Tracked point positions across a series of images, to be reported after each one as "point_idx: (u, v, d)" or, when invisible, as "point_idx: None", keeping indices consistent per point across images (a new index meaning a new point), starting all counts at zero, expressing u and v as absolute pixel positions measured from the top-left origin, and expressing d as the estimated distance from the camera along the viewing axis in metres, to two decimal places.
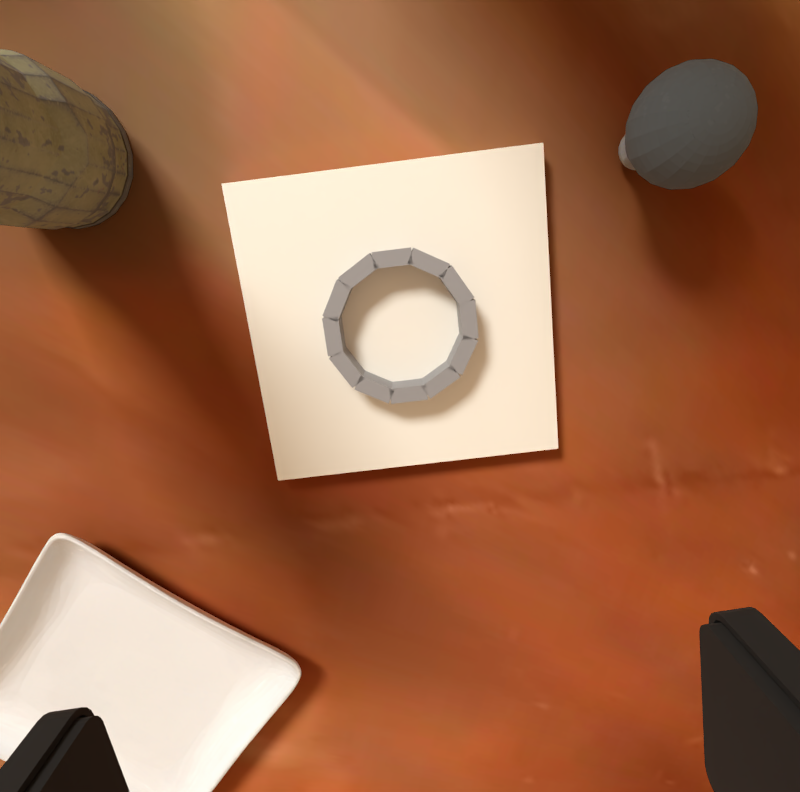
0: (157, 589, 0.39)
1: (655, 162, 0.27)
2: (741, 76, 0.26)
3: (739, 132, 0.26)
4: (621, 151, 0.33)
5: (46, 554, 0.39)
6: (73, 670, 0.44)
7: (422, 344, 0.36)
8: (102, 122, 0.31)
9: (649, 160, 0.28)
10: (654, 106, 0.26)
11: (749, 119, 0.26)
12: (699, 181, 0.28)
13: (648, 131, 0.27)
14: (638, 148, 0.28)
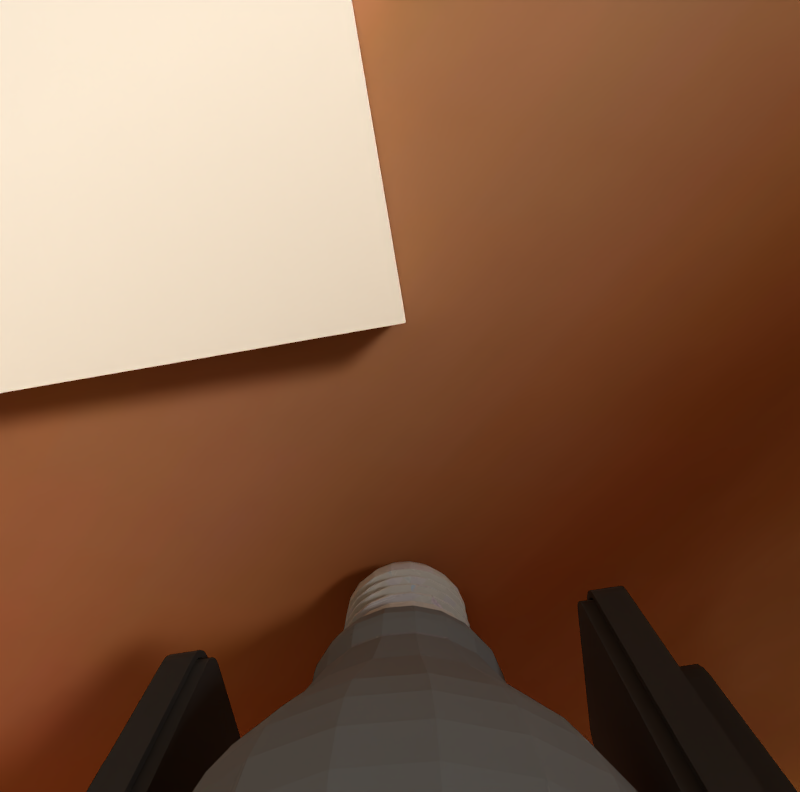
0: None
1: None
2: None
3: None
4: (393, 577, 0.10)
5: None
6: None
7: None
8: None
9: None
10: None
11: None
12: None
13: None
14: None
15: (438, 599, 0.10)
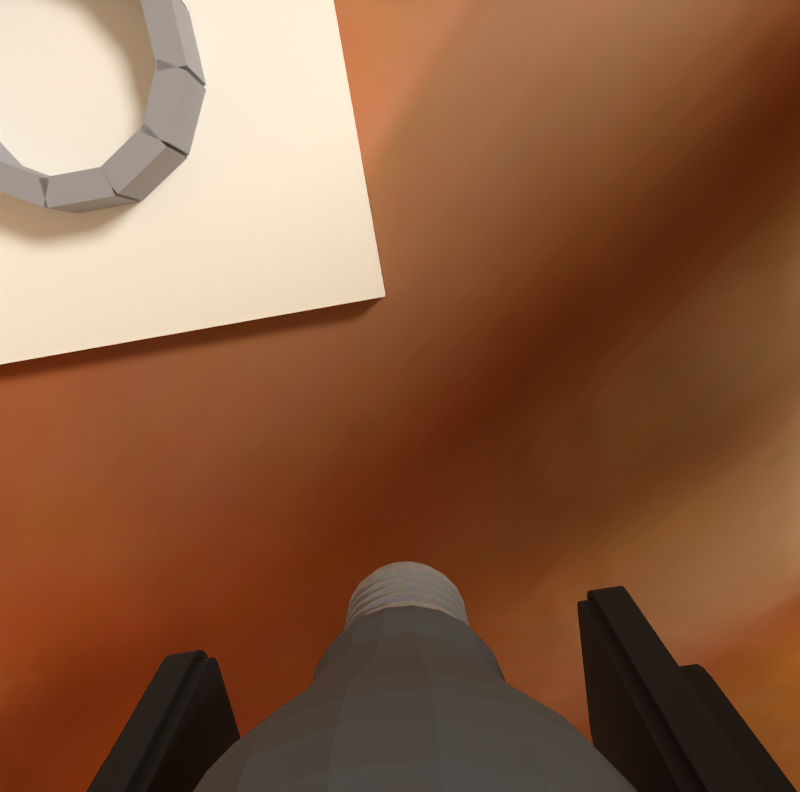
0: None
1: None
2: None
3: None
4: (393, 577, 0.10)
5: None
6: None
7: (42, 118, 0.20)
8: None
9: None
10: None
11: None
12: None
13: None
14: None
15: (438, 599, 0.10)
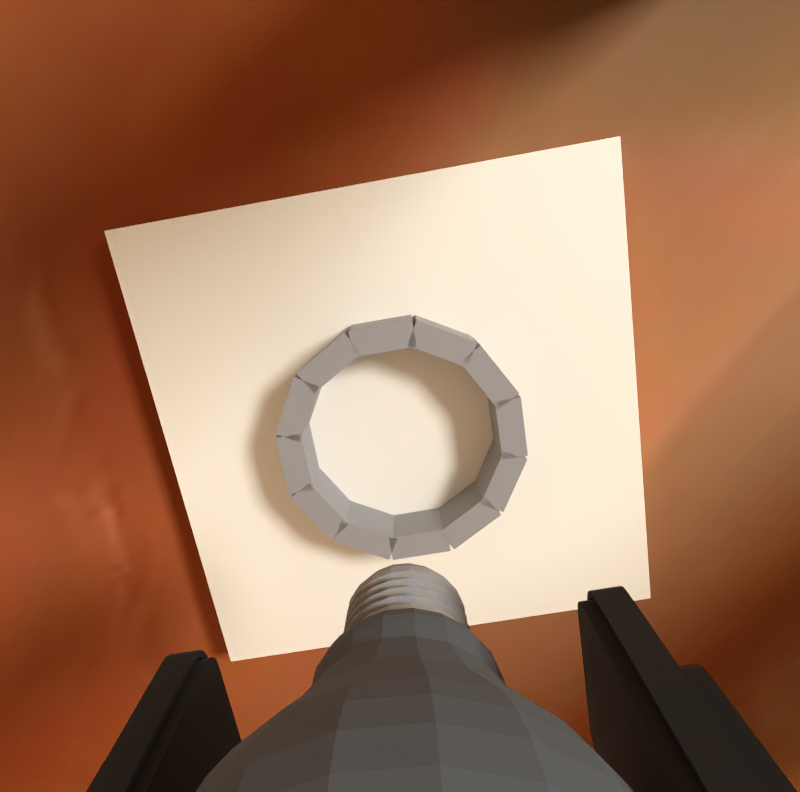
0: None
1: None
2: None
3: None
4: (393, 579, 0.10)
5: None
6: None
7: (372, 465, 0.23)
8: None
9: None
10: None
11: None
12: None
13: None
14: None
15: (438, 601, 0.10)
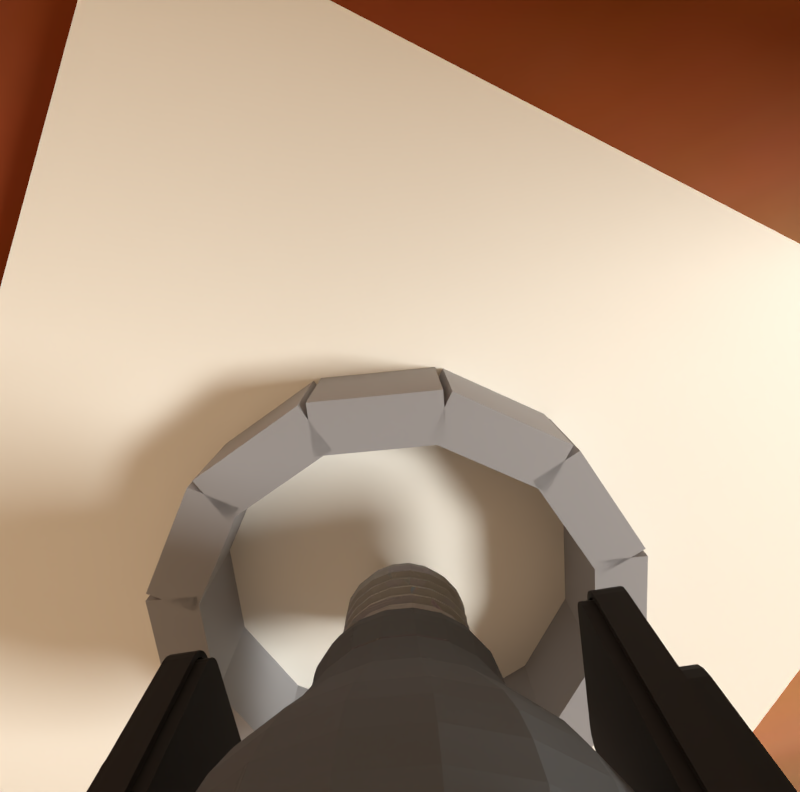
0: None
1: None
2: None
3: None
4: (393, 579, 0.10)
5: None
6: None
7: (318, 596, 0.13)
8: None
9: None
10: None
11: None
12: None
13: None
14: None
15: (438, 601, 0.10)
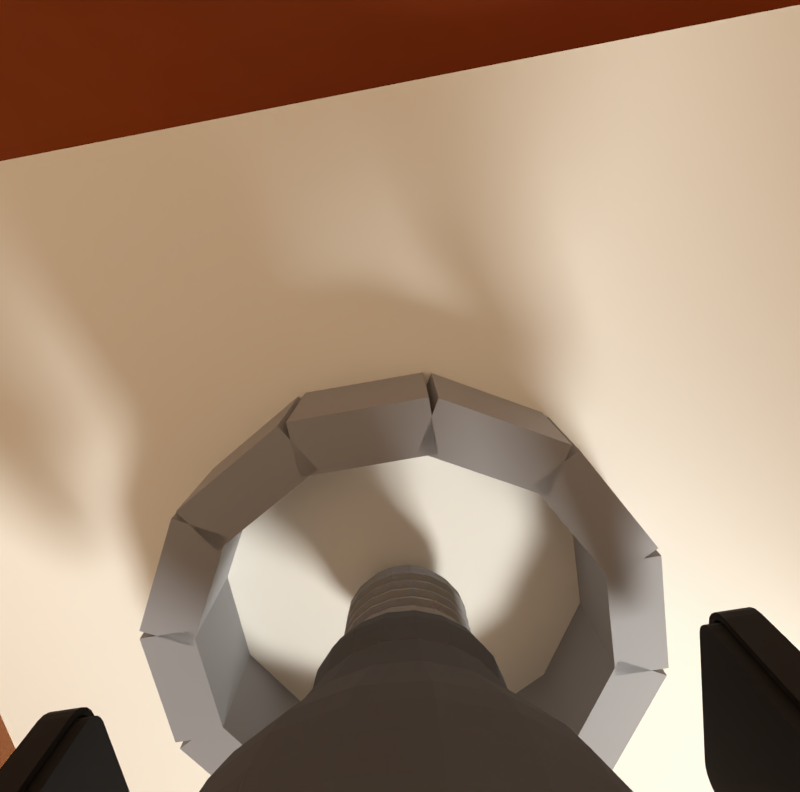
0: None
1: None
2: None
3: None
4: (394, 581, 0.10)
5: None
6: None
7: (333, 539, 0.12)
8: None
9: None
10: None
11: None
12: None
13: None
14: None
15: (439, 603, 0.10)
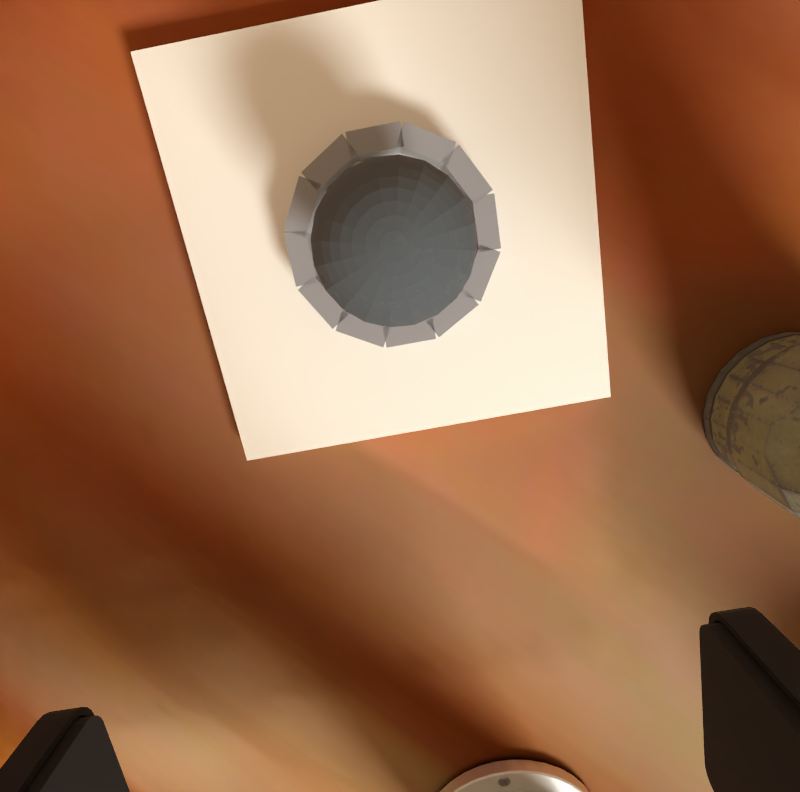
0: None
1: (335, 185, 0.18)
2: (448, 279, 0.18)
3: (372, 284, 0.18)
4: None
5: None
6: None
7: None
8: (735, 455, 0.28)
9: (339, 179, 0.18)
10: (408, 165, 0.18)
11: (391, 296, 0.18)
12: (315, 261, 0.19)
13: (375, 162, 0.18)
14: (357, 164, 0.19)
15: None
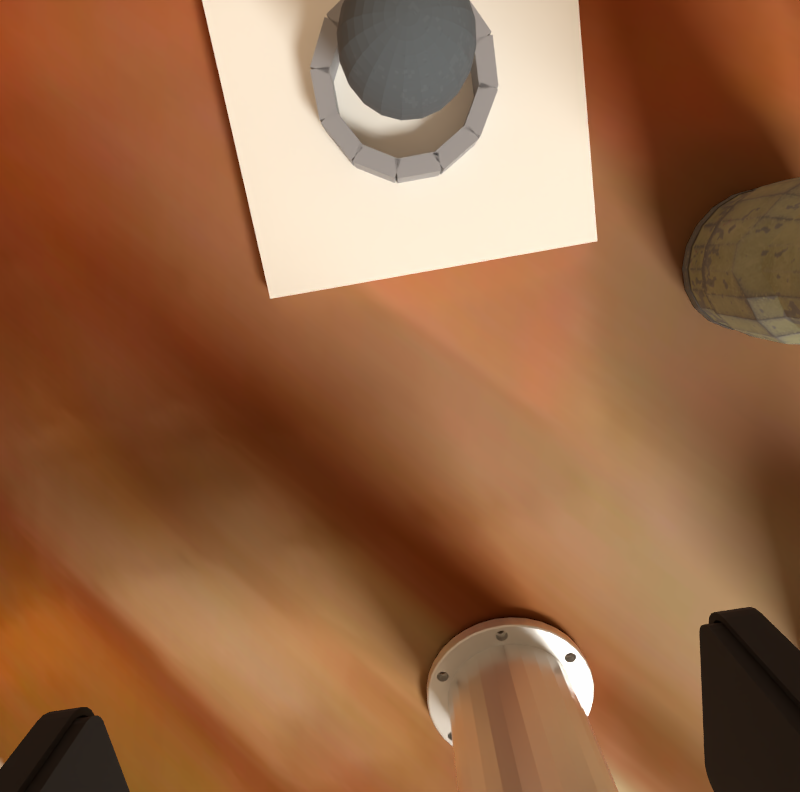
0: None
1: None
2: (451, 53, 0.22)
3: (389, 50, 0.21)
4: None
5: None
6: None
7: None
8: (709, 289, 0.32)
9: None
10: None
11: (404, 63, 0.21)
12: (341, 47, 0.23)
13: None
14: None
15: None
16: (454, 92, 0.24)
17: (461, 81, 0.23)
